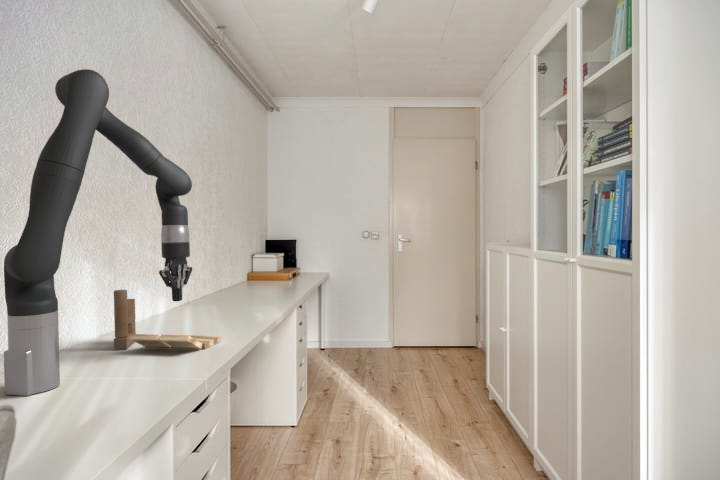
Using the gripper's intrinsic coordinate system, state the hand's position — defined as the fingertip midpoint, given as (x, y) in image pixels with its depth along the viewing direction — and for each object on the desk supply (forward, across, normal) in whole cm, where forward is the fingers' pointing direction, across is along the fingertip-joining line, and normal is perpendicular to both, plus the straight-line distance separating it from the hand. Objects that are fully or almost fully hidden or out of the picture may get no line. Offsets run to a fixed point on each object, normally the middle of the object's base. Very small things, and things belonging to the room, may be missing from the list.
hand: (177, 300), depth 127 cm
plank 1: (+13, +1, +10) cm, 16 cm away
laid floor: (+15, +11, +5) cm, 19 cm away
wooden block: (+16, +6, +23) cm, 29 cm away
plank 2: (+13, +1, 0) cm, 13 cm away
